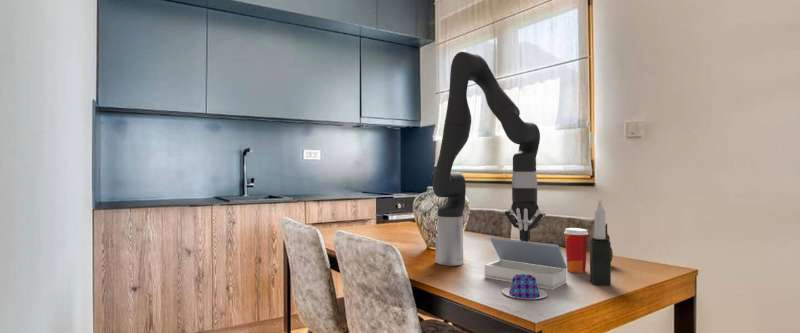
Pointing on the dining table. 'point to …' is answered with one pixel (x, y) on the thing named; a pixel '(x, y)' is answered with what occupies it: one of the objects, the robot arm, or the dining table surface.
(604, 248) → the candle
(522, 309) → the dining table surface
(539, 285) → the grey lidded box
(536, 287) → the pudding
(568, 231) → the paper cup
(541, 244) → the lid
